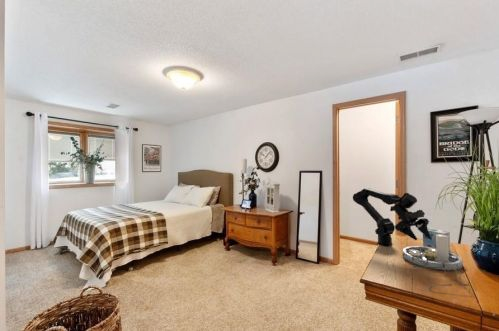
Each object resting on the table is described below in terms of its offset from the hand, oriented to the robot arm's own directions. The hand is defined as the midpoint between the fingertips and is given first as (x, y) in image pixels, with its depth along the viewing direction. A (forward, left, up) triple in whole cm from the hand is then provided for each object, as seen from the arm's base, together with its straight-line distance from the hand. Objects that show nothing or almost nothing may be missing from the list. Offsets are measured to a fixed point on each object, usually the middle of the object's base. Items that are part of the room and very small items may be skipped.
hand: (423, 238), depth 122 cm
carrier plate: (+3, 0, -10) cm, 11 cm away
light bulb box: (-2, +21, -11) cm, 23 cm away
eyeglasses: (+14, -21, -11) cm, 27 cm away
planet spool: (+9, -2, -9) cm, 13 cm away
